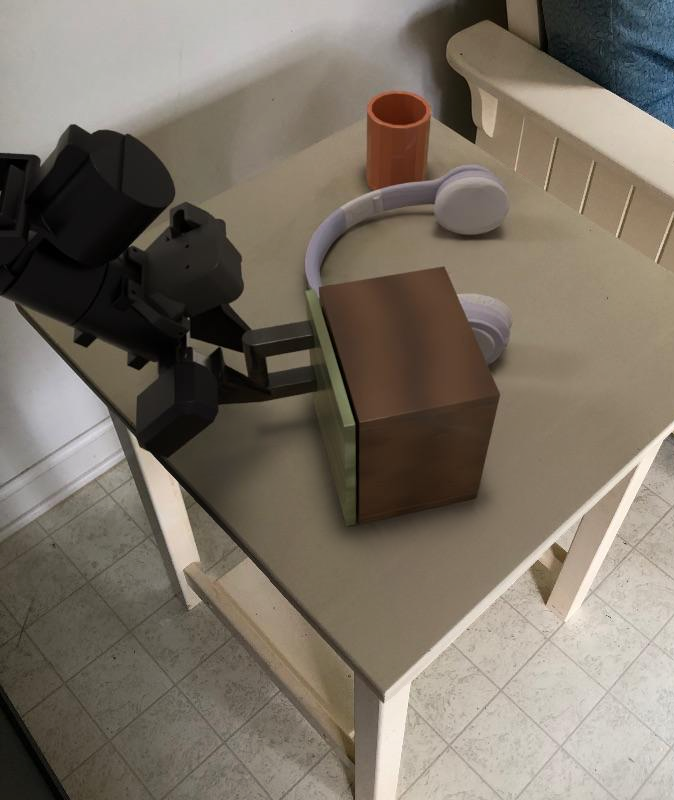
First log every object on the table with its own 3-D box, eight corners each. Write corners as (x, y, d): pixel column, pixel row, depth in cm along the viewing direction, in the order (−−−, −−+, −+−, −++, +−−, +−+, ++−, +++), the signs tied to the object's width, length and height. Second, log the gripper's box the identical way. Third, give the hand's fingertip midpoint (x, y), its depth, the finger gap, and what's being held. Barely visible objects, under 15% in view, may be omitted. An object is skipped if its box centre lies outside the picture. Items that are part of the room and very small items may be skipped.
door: (280, 541, 65) (264, 442, 54) (253, 411, 72) (234, 302, 61) (356, 524, 66) (355, 424, 55) (321, 398, 73) (315, 288, 62)
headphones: (507, 214, 89) (324, 209, 91) (512, 159, 84) (317, 155, 85) (509, 373, 76) (294, 365, 77) (516, 321, 70) (283, 313, 71)
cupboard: (359, 524, 66) (359, 422, 55) (324, 398, 73) (318, 286, 62) (477, 498, 68) (500, 394, 57) (431, 378, 75) (444, 265, 64)
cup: (365, 198, 90) (366, 126, 83) (366, 160, 94) (367, 89, 87) (426, 199, 91) (431, 128, 83) (424, 162, 95) (430, 91, 87)
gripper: (154, 323, 46) (352, 418, 56) (157, 124, 57) (322, 233, 67) (48, 421, 51) (247, 492, 61) (70, 221, 62) (235, 309, 72)
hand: (265, 373), depth 65 cm, fingers open, 4 cm apart
